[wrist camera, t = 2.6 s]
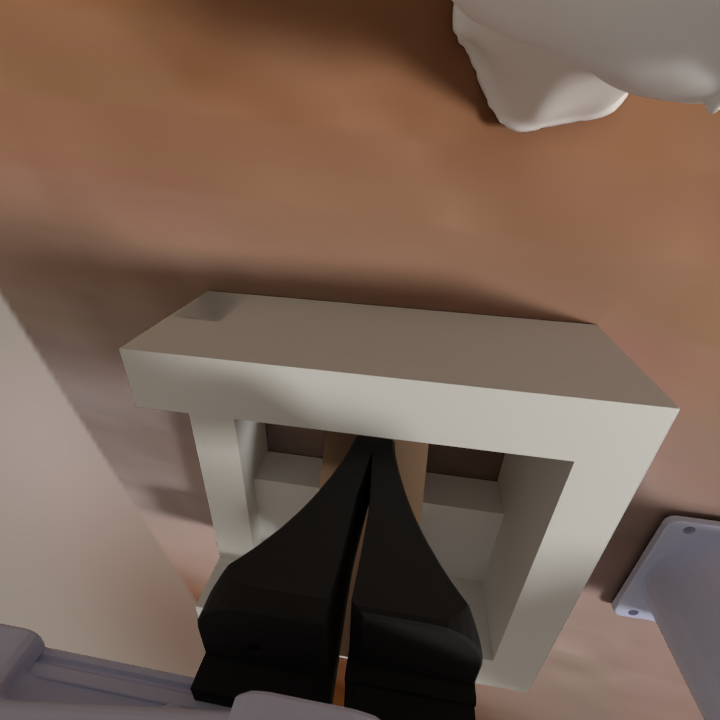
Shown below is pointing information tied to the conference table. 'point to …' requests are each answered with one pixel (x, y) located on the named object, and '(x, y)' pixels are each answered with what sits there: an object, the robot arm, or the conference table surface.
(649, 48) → the figurine
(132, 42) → the conference table surface
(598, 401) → the frame
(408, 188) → the conference table surface
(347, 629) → the bar
